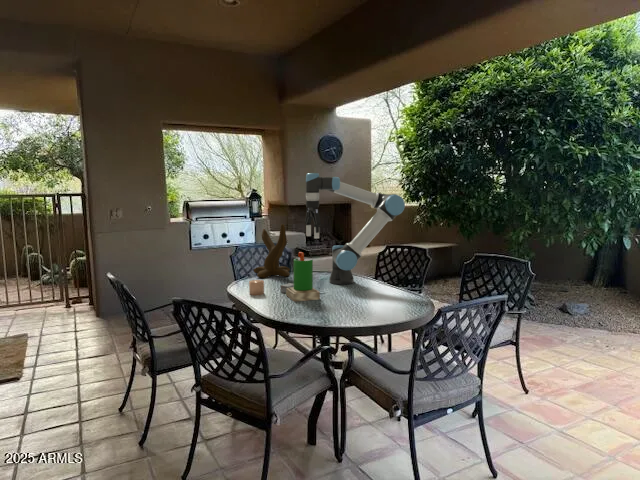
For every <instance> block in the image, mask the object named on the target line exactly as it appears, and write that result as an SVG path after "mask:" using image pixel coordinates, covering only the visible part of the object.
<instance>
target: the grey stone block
mask: <svg viewBox="0 0 640 480" xmlns="http://www.w3.org/2000/svg"><path fill="white" fill-rule="evenodd" d="M289 287H294V283H290V282H288V283H286V284H282V285H280V293H283V294H286V288H289Z"/></svg>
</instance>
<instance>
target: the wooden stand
mask: <svg viewBox="0 0 640 480" xmlns="http://www.w3.org/2000/svg"><path fill="white" fill-rule="evenodd" d="M278 235H279V236H278V239H277V241H276V244H275V243H274V242H273V240H272V238H271V237H270V235H269V233H268V231H267V230H266V228H263V229H262V233H261V240H262V242H263V244H264V245H265V247H266V249H267V251H268V254H267V256H266V257H265V258H264V262H263V266H257V267H255V268H253V272H254V273H256V276H257V278H262V279H266V277H267V278H269V277H268V276H270V277H272V276H271V275H279V276H284V277H283V278H286V277H290V276H291V273H290V271H291V270H290V267H287V266H284V265H283V266H282V265H280V258H282V256H283V253H284V249H285V248H286V247H287V244H288V240H287V232H286V226H285V224H284V223H281V224H280V230H279V234H278ZM279 276H278V277H279Z"/></svg>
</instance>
